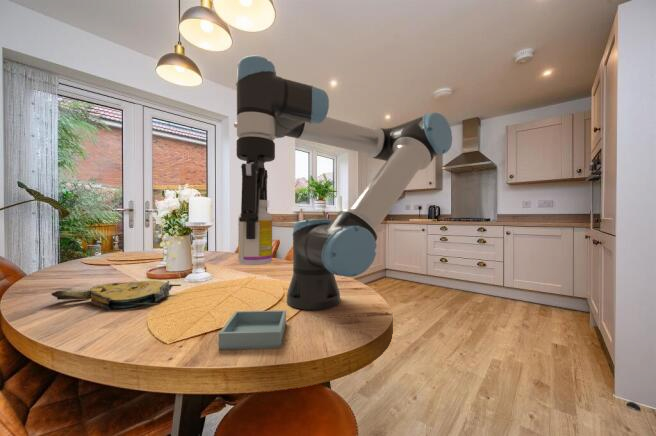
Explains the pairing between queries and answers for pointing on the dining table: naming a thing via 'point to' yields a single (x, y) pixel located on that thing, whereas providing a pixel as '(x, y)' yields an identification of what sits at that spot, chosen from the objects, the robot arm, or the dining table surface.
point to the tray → (253, 330)
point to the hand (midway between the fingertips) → (255, 253)
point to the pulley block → (120, 294)
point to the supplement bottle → (264, 238)
